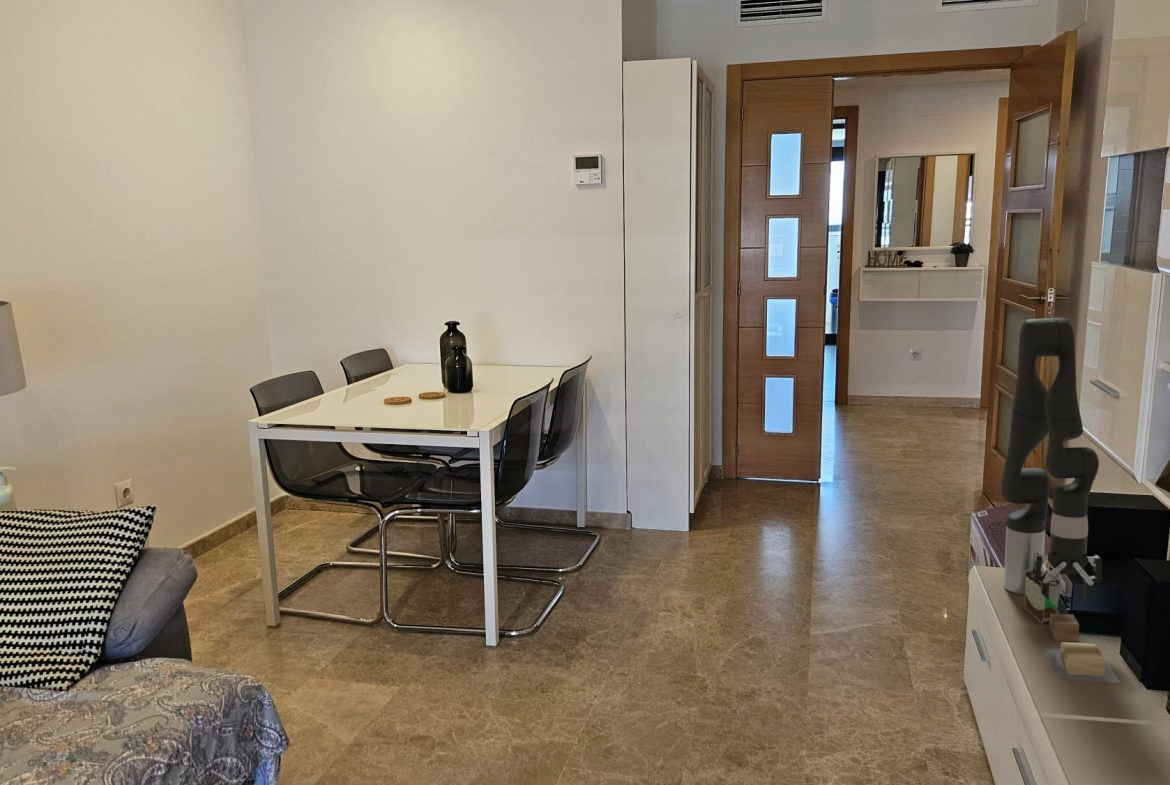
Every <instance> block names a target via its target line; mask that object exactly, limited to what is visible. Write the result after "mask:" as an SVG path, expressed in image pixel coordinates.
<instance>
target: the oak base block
mask: <svg viewBox="0 0 1170 785" xmlns="http://www.w3.org/2000/svg"><path fill="white" fill-rule="evenodd" d="M1060 649H1061V650H1060V659H1061V661H1062V663H1063V665H1064V667H1065V668H1066V670H1067V672H1068V674H1075V675H1090V676H1104V673H1105V659H1106V657H1105V656H1104V655H1102V654H1103V653H1102V651H1101V650H1100V649H1099V646H1098V645H1097V643H1086V642H1085V643H1083V642H1070V641H1061V642H1060ZM1104 657H1105V658H1104Z"/></svg>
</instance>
